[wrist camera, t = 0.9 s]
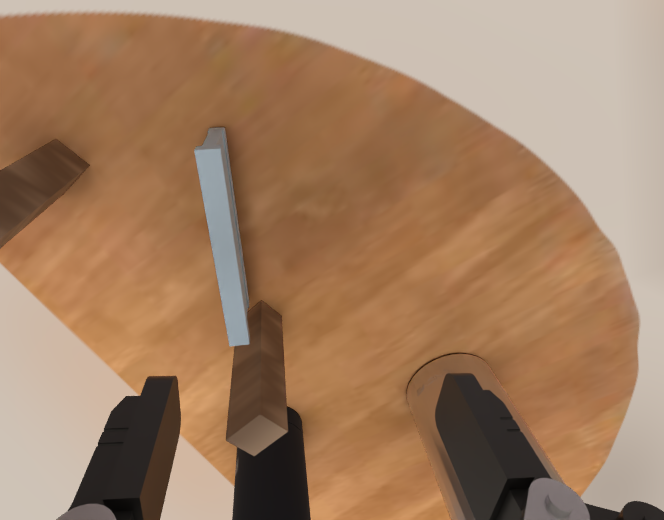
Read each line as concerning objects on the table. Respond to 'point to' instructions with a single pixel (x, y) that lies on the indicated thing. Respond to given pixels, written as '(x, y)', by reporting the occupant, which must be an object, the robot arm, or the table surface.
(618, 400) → the table surface
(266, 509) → the black water bottle
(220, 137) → the gate
